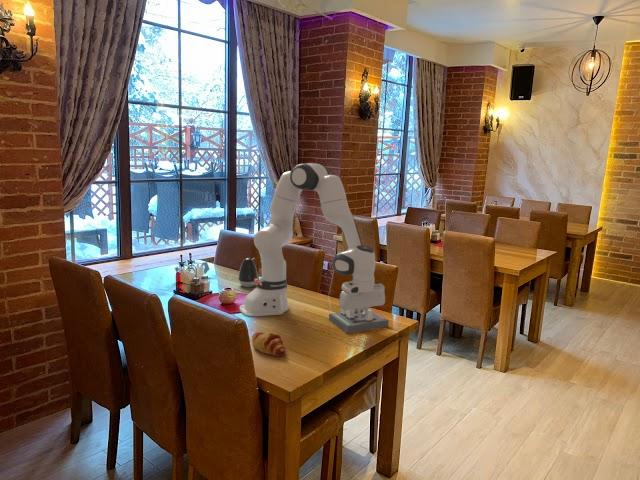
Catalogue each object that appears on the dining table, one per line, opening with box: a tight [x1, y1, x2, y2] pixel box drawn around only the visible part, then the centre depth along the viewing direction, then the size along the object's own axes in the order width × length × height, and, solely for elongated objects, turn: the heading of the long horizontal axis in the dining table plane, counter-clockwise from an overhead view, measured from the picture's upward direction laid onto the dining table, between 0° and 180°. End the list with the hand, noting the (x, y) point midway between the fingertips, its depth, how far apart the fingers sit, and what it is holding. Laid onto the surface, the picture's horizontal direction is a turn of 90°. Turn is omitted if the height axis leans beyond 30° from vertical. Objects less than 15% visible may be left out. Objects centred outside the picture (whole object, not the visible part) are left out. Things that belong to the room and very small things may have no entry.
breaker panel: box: [328, 308, 389, 334], centre depth 204 cm, size 20×16×3 cm
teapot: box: [174, 259, 210, 274], centre depth 261 cm, size 15×15×11 cm
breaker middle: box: [346, 309, 355, 319], centre depth 202 cm, size 2×3×4 cm
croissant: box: [251, 331, 286, 357], centre depth 176 cm, size 21×10×8 cm, turn 39°
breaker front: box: [364, 308, 374, 321], centre depth 200 cm, size 2×3×4 cm
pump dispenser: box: [238, 257, 259, 288], centre depth 252 cm, size 10×10×15 cm
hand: (361, 317), depth 198 cm, fingers closed
